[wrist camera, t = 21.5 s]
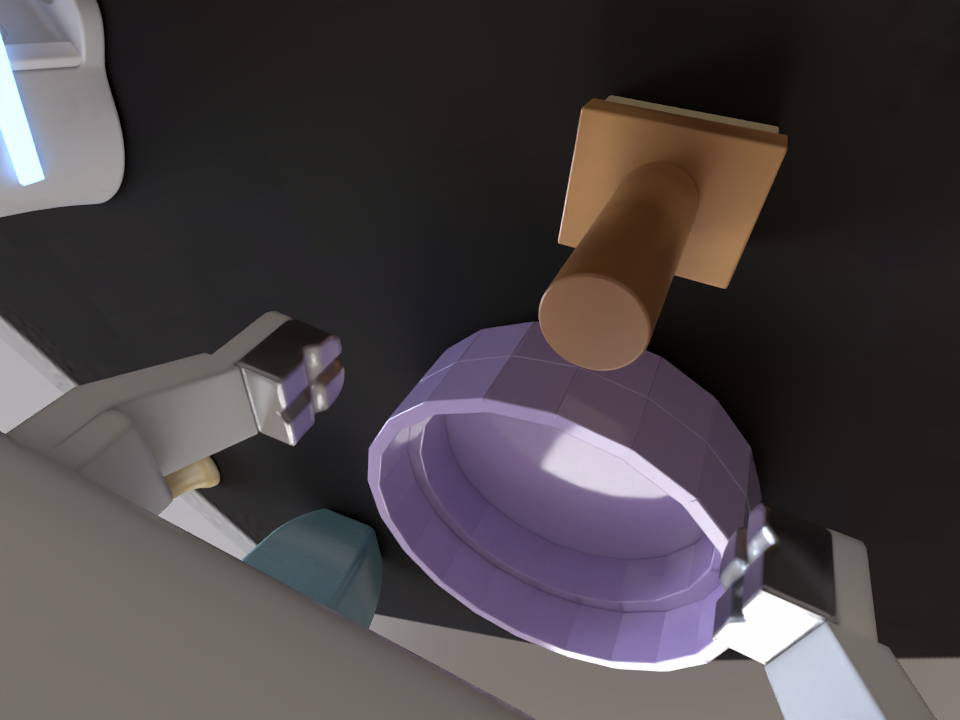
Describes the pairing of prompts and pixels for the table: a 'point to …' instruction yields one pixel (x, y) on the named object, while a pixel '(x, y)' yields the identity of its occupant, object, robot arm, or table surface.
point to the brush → (650, 220)
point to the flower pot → (325, 562)
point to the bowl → (568, 497)
